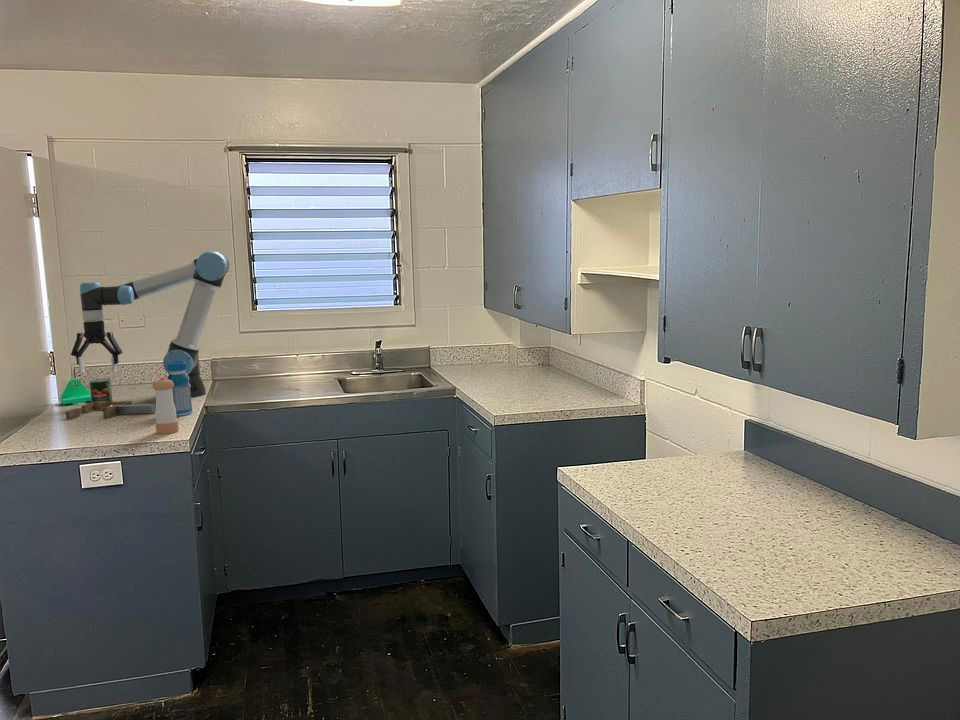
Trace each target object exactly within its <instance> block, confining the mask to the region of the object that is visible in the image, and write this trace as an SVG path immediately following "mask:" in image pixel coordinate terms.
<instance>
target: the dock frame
mask: <svg viewBox="0 0 960 720" xmlns="http://www.w3.org/2000/svg"><path fill="white" fill-rule="evenodd" d="M108 405H133V404H132V400H123V401H122V400H118V401H115V400H113V401H109V402H92V401H91V402H89V403H85V404H82V405H81V413H86V414H89V413H90V411H91V412H94V411H102V417H103V420H108V418H109V419H110V418H112V417H116V416H117V414H116V408H110V409H107V407H108ZM96 409H98V410H96ZM101 409H107V410H101ZM93 410H94V411H93ZM88 412H89V413H88ZM81 413H80V408H74V409H71V410H68V411H66V412H65V417H66V418H65V419H66V420H67V419H71V420H73V419H72V418H74V419H76V418H78V416H79V417H80V416H81ZM75 417H76V418H75Z"/></svg>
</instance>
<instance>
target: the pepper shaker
mask: <svg viewBox="0 0 960 720" xmlns="http://www.w3.org/2000/svg"><path fill="white" fill-rule="evenodd" d="M151 387H152V389H153V390H154V393H155V412H154V413H155V414H154V415H155V420H156V422H155V433H156V434H158V435H168V434H174V433H177V432H179V430H180V428H179V421H178V420H177V416H176V409H175V406H174V402H173V394H172V388H173V387H174V383H173V382H172V380H169V379H167V378H165V377H160V379H157V380H155V381H153V383H152V385H151Z"/></svg>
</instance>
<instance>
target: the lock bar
mask: <svg viewBox="0 0 960 720" xmlns="http://www.w3.org/2000/svg"><path fill="white" fill-rule="evenodd" d="M110 408H116V415H127V414H129V415H130V414H131V415H132V414H133V415H134V414H136V415H137V414H154V413H155V412H156V403H155V404H154V403H151V404H148V403H147V404H132V405H108V407H107V409H110Z"/></svg>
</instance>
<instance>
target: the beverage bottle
mask: <svg viewBox="0 0 960 720" xmlns="http://www.w3.org/2000/svg"><path fill="white" fill-rule="evenodd" d="M167 367H168V372H170V374H168V376H167V377H166V379H169V380H172V382H173V383H174V387H173V388H172V394H173V402H174V406H175V409H176V417H177V416H178V417H180V416H187V415H190V414H192V413H193V407H192V397H191V393H190V388H191V386H190V383H189V380H190V379H189V376H188V375H187V373H186V372H185V371H186V369H187V368H186V362H182V361H180V362H170V363H168V365H167Z"/></svg>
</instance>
